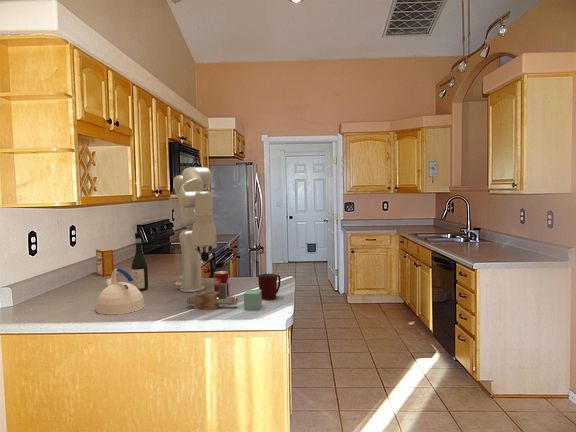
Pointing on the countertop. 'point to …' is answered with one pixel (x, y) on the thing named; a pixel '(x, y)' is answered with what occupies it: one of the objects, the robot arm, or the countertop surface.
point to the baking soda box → (104, 262)
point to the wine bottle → (139, 267)
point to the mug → (268, 286)
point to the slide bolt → (221, 299)
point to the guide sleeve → (206, 300)
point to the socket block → (252, 300)
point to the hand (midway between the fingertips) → (205, 261)
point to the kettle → (119, 296)
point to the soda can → (221, 280)
